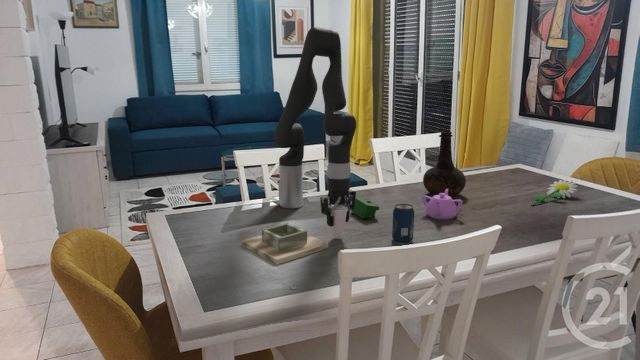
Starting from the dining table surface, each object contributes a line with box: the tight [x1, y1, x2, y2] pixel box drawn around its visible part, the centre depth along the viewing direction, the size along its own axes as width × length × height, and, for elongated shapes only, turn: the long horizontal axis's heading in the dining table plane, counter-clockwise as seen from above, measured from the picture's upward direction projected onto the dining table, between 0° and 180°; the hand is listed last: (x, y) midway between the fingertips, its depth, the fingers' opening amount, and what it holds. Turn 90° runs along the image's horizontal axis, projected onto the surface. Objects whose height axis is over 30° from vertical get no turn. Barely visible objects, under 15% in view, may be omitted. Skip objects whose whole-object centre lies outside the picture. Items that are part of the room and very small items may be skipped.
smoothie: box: [330, 205, 348, 238], centre depth 168 cm, size 6×6×14 cm
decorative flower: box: [531, 179, 578, 207], centre depth 213 cm, size 13×5×30 cm
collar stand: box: [240, 222, 329, 265], centre depth 163 cm, size 20×20×6 cm
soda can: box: [391, 203, 415, 245], centre depth 167 cm, size 7×7×12 cm
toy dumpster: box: [350, 197, 380, 220], centre depth 194 cm, size 12×6×9 cm, turn 17°
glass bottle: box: [422, 130, 467, 198], centre depth 217 cm, size 18×18×28 cm
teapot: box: [421, 189, 463, 221], centre depth 192 cm, size 12×14×9 cm
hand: (338, 223), depth 169 cm, fingers closed on smoothie, 6 cm apart
